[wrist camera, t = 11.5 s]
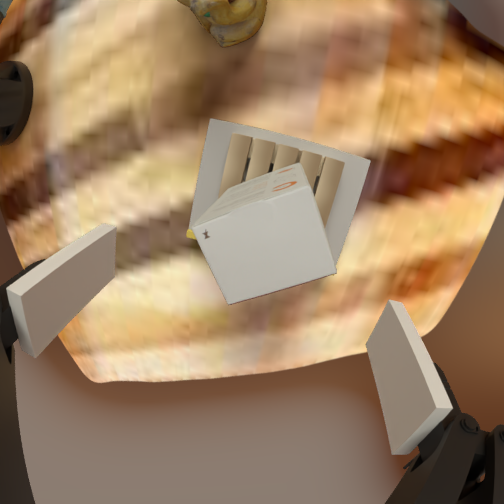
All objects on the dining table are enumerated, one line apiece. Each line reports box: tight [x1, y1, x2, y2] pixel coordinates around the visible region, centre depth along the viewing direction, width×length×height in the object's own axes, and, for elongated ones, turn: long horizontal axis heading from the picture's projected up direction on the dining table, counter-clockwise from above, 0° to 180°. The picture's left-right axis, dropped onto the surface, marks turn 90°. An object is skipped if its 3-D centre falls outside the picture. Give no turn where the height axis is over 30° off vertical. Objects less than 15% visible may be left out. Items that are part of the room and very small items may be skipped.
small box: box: [191, 163, 337, 305], centre depth 25 cm, size 8×6×13 cm
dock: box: [186, 119, 370, 276], centre depth 35 cm, size 18×14×4 cm
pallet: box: [218, 133, 345, 228], centre depth 33 cm, size 12×12×2 cm
